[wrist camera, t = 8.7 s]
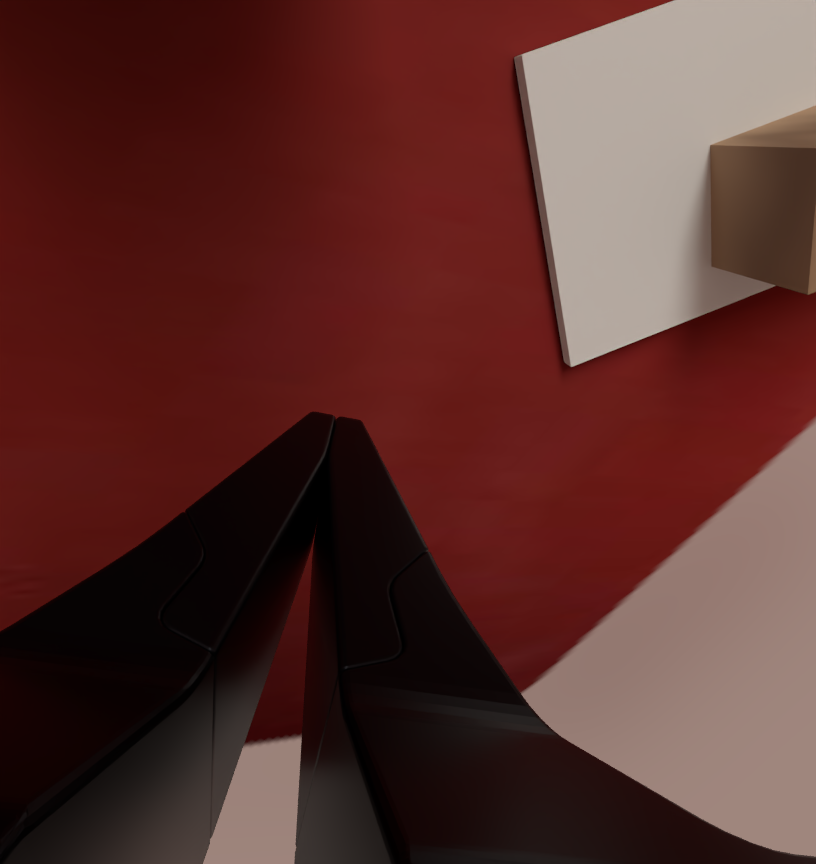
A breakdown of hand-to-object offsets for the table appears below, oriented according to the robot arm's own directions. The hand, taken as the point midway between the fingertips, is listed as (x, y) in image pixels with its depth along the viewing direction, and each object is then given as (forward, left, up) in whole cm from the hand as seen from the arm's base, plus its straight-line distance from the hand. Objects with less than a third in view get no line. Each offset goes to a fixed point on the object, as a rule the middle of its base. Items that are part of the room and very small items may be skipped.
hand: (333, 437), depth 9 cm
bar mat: (+19, -4, -11) cm, 22 cm away
